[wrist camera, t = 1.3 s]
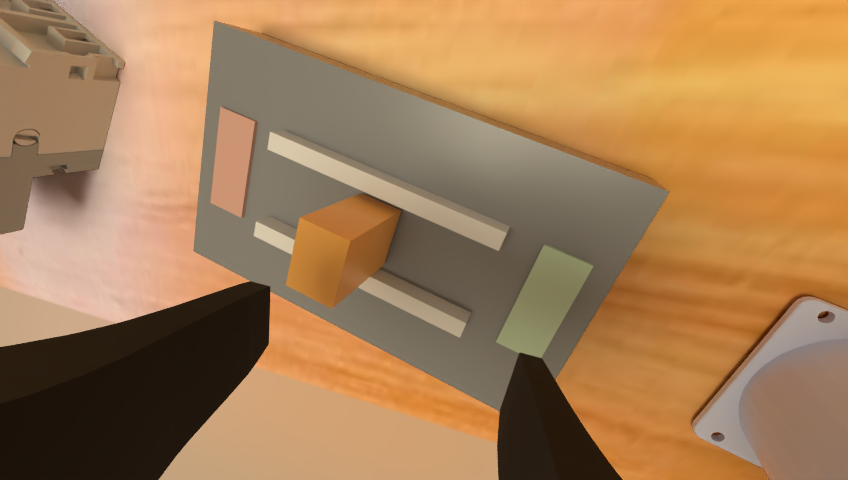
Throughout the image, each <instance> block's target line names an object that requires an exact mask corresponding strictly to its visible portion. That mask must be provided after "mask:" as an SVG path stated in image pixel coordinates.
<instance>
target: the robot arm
mask: <svg viewBox="0 0 848 480" xmlns="http://www.w3.org/2000/svg"><path fill="white" fill-rule="evenodd" d="M824 311H829V314H828V316H826V317H825V318H821V319H819V318H817V317H818V315H819V314H820V313H821V312H824ZM269 315H270V286H267V285H263V284H259V283H256V282H252V281H250V282H246V283H242V284H239V285H236V286H233V287H230V288H227V289H224V290H221V291H218V292H215V293H212V294H209V295H206V296H203V297H200V298H197V299H194V300H191V301H188V302H185V303H182V304H180V305H177V306H174V307H170V308H167V309H164V310H160V311H157V312H154V313H151V314H147V315H144V316H141V317H137V318H134V319H131V320H127V321H124V322H120V323H116V324H112V325H109V326H105V327H100V328H96V329H92V330H88V331H83V332H80V333H75V334H70V335H66V336H60V337H54V338H49V339H44V340H38V341H33V342H27V343H22V344H16V345H11V346H5V347H0V480H158V479H159V478H160V477H161V475H162V474H163V473H164V471H165V470H166V469H167V467H168V466H169V465H170V463H171V462H172V461H173V459H174V458H175V457H176V455H177V454H178V453H179V452H180V451H181V449H182V448H183V447H184V446H185V445H186V443H187V442H188V441H189V440H190V439H191V438H192V437H193V435H194V434H195V433H196V432H197V431H198V430H199V429H200V428H201V426H202V425H203V424H204V423H205V422H206V421H207V420H208V418H210V416H211V415H212V414H213V413H214V412H215V411H216V410H217V409H218V407H219V406H220V405H221V404H222V403H223V402H224V401H225V400H226V399H227V398H228V396H229V395H230V394H231V393H232V392H233V391H234V389H236V387H237V386H238V385H239V384H240V383H241V382H242V380H243V379H244V378H245V377H246V376H247V375H248V374H249V372H250V371H251V369H252V368H253V367H254V365H255V364H256V362H257V361H258V359H259V358H260V356H261V355H262V353H263V352H264V350H265V349H266V347H267V346H268V344H269ZM692 428H693V431H694V433H695V434H696V436H698V437H699V438H701V439H703V440H705V441H707V442H709V443H711V444H713V445H715V446H718V447H720V448H722V449H724V450H726V451H728V452H730V453H732V454H734V455H736V456H738V457H740V458H742V459H744V460H746V461H748V462H750V463H753V464H755V465H757V466H759V467H761V468H763V469H764V470H765V472H766V474H767V476H768V478H769V479H770V480H848V310H846V309H844V308H841V307H839V306H836V305H834V304H831V303H829V302H826V301H824V300H821V299H819V298H816V297H811V296H807V297H802V298H799V299H797V300H796V301H795V302H794V303H793V304H792V305H791V306H790V308H789V309H788V310H787V311H786V312H785V314H784V315H783V316H782V317H781V318H780V319H779V321H778V322H777V323H776V324H775V325H774V327H773V328H772V329H771V330H770V331H769V332H768V334H767V335H766V336H765V337H764V338H763V339H762V341H761V342H760V343H759V344H758V345H757V347H756V348H755V349H754V350H753V351H752V352H751V354H750V355H749V356H748V357H747V358H746V360H745V361H744V362H743V363H742V364H741V365H740V367H739V368H738V369H737V370H736V371H735V372H734V374H733V375H732V376H731V377H730V378H729V380H728V381H727V382H726V383H725V384H724V385H723V387H722V388H721V389H720V390H719V391H718V393H717V394H716V395H715V396H714V397H713V398H712V400H711V401H710V402H709V403H708V404H707V406H706V407H705V408H704V409H703V410H702V411H701V413H700V414H699V415H698V416H697V417H696V418H695V420H694V421H693V423H692ZM715 432H719V433H721V434H719V435H712V434H713V433H715ZM497 450H498V475H499V480H622V478H621V477H620V476H619V475H618V473H617V472H616V471H615V469H614V468H613V467H612V466H611V464H610V463H609V462H608V460H607V459H606V458H605V456H604V455H603V453H602V452H601V451H600V449H599V448H598V446H597V445H596V444H595V442H594V441H593V439H592V438H591V437H590V435H589V434H588V432H587V431H586V429H585V428H584V426H583V425H582V423H581V422H580V420H579V418H578V417H577V415H576V414H575V412H574V411H573V409H572V408H571V406H570V404H569V403H568V401H567V399H566V398H565V396H564V394H563V393H562V391H561V389H560V388H559V386H558V384H557V382H556V381H555V379H554V377H553V376H552V374H551V372H550V370H549V369H548V367H547V365H546V364H545V362H544V360H543V359H542V358H539V357H536V356H532V355H528V354H524V353H520V352H519V355H518V358H517V361H516V364H515V367H514V370H513V373H512V376H511V379H510V382H509V384H508V387H507V390H506V393H505V396H504V399H503V402H502V405H501V408H500V416H499V429H498V444H497Z"/></svg>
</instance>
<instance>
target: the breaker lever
mask: <svg viewBox="0 0 848 480" xmlns="http://www.w3.org/2000/svg"><path fill="white" fill-rule="evenodd" d="M400 213H401V210H399V209H397V208H394V207H392V206H390V205H387V204H385V203H383V202H381V201H378V200H376V199H374V198H372V197H369V196H367V195H365V194H363V193H360V194H358V195H355V196H353V197H350V198H348V199H345V200H342V201H340V202H337V203H335V204H332V205H330V206H327V207H325V208H322V209H320V210H317V211H315V212H312V213H310V214H307V215H304V216H302V217H300V218H299V223H298V228H297V233H296V237H295V242H294V247H293V252H292V257H291V262H290V266H289V271H288V276H287V281H286V286H288V287H290V288H292V289H294V290H296V291H298V292H300V293H302V294H304V295H306V296H308V297H310V298H312V299H313V300H315V301H317V302H319V303H321V304H323V305H325V306H327V307H329V308H331V309H332V308H334V307H335V306H336V305H337V304H338V303H340V302H341V301H342V300H343V299H344V298H345V297H347V296H348V295H349V294H350V293H351V292H353V291H354V290H355V289H356V288H357V287H358V286H360V285H361V284H362V283H363V282H364V281H366V280H367V279H368V278H369V277H370V276H371V275H373V274H374V273H375V272H376V271H377V270H379V269H380V268H381V267H382V266H383V265H384V263H385V260H386V257H387V254H388V251H389V248H390V244H391V241H392V238H393V235H394V232H395V229H396V226H397V223H398V219H399V216H400Z"/></svg>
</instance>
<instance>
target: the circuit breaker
mask: <svg viewBox="0 0 848 480" xmlns="http://www.w3.org/2000/svg"><path fill="white" fill-rule="evenodd" d="M87 41H89V42H87ZM124 65H125V62H124V61H123V60H122V59H121V58H119V57H118V56H117V55H116V54H115V53H114V52H112V51H111V50H110V49H109V48H108V47H107V46H105V45H104V44H103V43H102V42H101V41H100V40H98V39H97V38H96V37H95V36H94V35H93V34H91V33H90V32H89V31H88V30H87V29H86V28H84V27H83V26H82V25H81V24H80V23H78V22H77V21H76V20H75V19H74V18H73V17H71V16H70V15H69V14H68V13H67V12H66V11H64V10H63V9H62V8H61V7H60V6H59V5H57V4H56V3H55V2H54V1H53V0H0V234H5V233H9V232H14V231H19V230H22V229H23V228H24V224H25V218H26V213H27V207H28V201H29V196H30V190H31V184H32V179H33V177H39V176H46V175H53V174H54V173H53V172H52V170H56V169H63V170H64V171H65V172H66V173H70V172H78V171H86V170H95V169H98V168H99V165H100V161H101V157H102V153H103V149H104V145H105V141H106V137H107V133H108V129H109V125H110V121H111V117H112V113H113V109H114V105H115V101H116V97H117V93H118V89H119V85H120V81H119V80H117V79H116V76H117V72H118V68H121V69H124Z"/></svg>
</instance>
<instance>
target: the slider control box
mask: <svg viewBox="0 0 848 480" xmlns="http://www.w3.org/2000/svg"><path fill="white" fill-rule="evenodd" d="M360 193H363V194H365V195H367V196H369V197H372V198H374V199H376V200H378V201H381V202H383V203H385V204H387V205H390V206H392V207H394V208H397V209H399V210H401V213H400V216H399V219H398V223H397V226H396V229H395V232H394V235H393V238H392V241H391V244H390V248H389V251H388V254H387V257H386V260H385V263H384V265H383V266H382V267H381V268H380V269H379V270H377V271H376V272H375V273H374V274H373V275H371V276H370V277H369V278H368V279H367V280H366V281H364V282H363V283H362V284H361V285H360V286H358V287H357V288H356V289H355V290H354V291H353V292H351V293H350V294H349V295H348V296H347V297H345V298H344V299H343V300H342V301H341V302H340V303H338V304H337V305H336V306H335V307H334V308H332V309H331V308H329V307H327V306H325V305H323V304H321V303H319V302H317V301H315V300H313V299H312V298H310V297H308V296H306V295H304V294H302V293H300V292H298V291H296V290H294V289H292V288H290V287H288V286H286V281H287V276H288V271H289V266H290V262H291V257H292V252H293V247H294V242H295V237H296V233H297V228H298V223H299V218H300V217H302V216H304V215H307V214H310V213H312V212H315V211H317V210H320V209H322V208H325V207H327V206H330V205H332V204H335V203H337V202H340V201H342V200H345V199H348V198H350V197H353V196H355V195H358V194H360ZM668 193H669V191H668V190H666V189H665V188H664V187H662V186H661V185H660V184H658V183H657V182H655V181H654V180H653V179H651V178H648V177H646V176H643V175H640V174H638V173H635V172H632V171H630V170H627V169H624V168H622V167H619V166H616V165H613V164H611V163H608V162H605V161H603V160H600V159H597V158H595V157H592V156H589V155H587V154H584V153H581V152H579V151H576V150H573V149H571V148H568V147H565V146H562V145H560V144H557V143H554V142H552V141H549V140H546V139H544V138H541V137H538V136H536V135H533V134H530V133H528V132H525V131H522V130H520V129H517V128H514V127H512V126H509V125H506V124H503V123H501V122H498V121H495V120H493V119H490V118H487V117H485V116H482V115H479V114H477V113H474V112H471V111H469V110H466V109H463V108H461V107H458V106H455V105H453V104H450V103H447V102H444V101H442V100H439V99H436V98H434V97H431V96H428V95H426V94H423V93H420V92H418V91H415V90H412V89H410V88H407V87H404V86H402V85H399V84H396V83H394V82H391V81H388V80H385V79H383V78H380V77H377V76H375V75H372V74H369V73H367V72H364V71H361V70H359V69H356V68H353V67H351V66H348V65H345V64H343V63H340V62H337V61H335V60H332V59H329V58H326V57H324V56H321V55H318V54H316V53H313V52H310V51H308V50H305V49H302V48H300V47H297V46H294V45H292V44H289V43H286V42H284V41H281V40H278V39H275V38H273V37H270V36H267V35H265V34H262V33H259V32H255V31H251V30H247V29H244V28H240V27H236V26H232V25H229V24H225V23H221V22H217V21H214V28H213V39H212V50H211V62H210V73H209V84H208V95H207V106H206V117H205V128H204V139H203V151H202V162H201V173H200V184H199V195H198V206H197V217H196V228H195V240H194V252H196V253H198V254H200V255H202V256H204V257H206V258H208V259H209V260H211V261H213V262H215V263H217V264H219V265H221V266H223V267H225V268H227V269H229V270H230V271H232V272H234V273H236V274H238V275H240V276H242V277H244V278H246V279H248V280H250V281H252V282H256V283H259V284H263V285H267V286H270V291H271V292H273V293H274V294H276V295H278V296H280V297H282V298H284V299H286V300H288V301H290V302H292V303H294V304H295V305H297V306H299V307H301V308H303V309H305V310H307V311H309V312H311V313H313V314H315V315H317V316H318V317H320V318H322V319H324V320H326V321H328V322H330V323H332V324H334V325H336V326H338V327H339V328H341V329H343V330H345V331H347V332H349V333H351V334H353V335H355V336H357V337H359V338H361V339H362V340H364V341H366V342H368V343H370V344H372V345H374V346H376V347H378V348H380V349H382V350H383V351H385V352H387V353H389V354H391V355H393V356H395V357H397V358H399V359H401V360H403V361H404V362H406V363H408V364H410V365H412V366H414V367H416V368H418V369H420V370H422V371H424V372H426V373H427V374H429V375H431V376H433V377H435V378H437V379H439V380H441V381H443V382H445V383H447V384H448V385H450V386H452V387H454V388H456V389H458V390H460V391H462V392H464V393H466V394H468V395H470V396H471V397H473V398H475V399H477V400H479V401H481V402H483V403H485V404H487V405H489V406H491V407H492V408H494V409H496V410H498V411H500V408H501V405H502V402H503V399H504V396H505V393H506V390H507V387H508V384H509V382H510V379H511V376H512V373H513V370H514V367H515V364H516V361H517V358H518V355H519V352H520V353H524V354H528V355H532V356H536V357H539V358H542V359H543V360H544V362H545V364H546V365H547V367H548V369H549V370H550V372H551V374H552V376H553V377H554V379H556V378H557V376H558V374H559V373H560V371H561V369H562V368H563V366H564V365H565V363H566V361H567V360H568V358H569V356H570V355H571V353H572V351H573V350H574V348H575V346H576V345H577V343H578V341H579V340H580V338H581V337H582V335H583V333H584V332H585V330H586V328H587V327H588V325H589V323H590V322H591V320H592V318H593V317H594V315H595V314H596V312H597V310H598V309H599V307H600V305H601V304H602V302H603V300H604V299H605V297H606V295H607V294H608V292H609V290H610V289H611V287H612V286H613V284H614V282H615V281H616V279H617V277H618V276H619V274H620V272H621V271H622V269H623V267H624V266H625V264H626V263H627V261H628V259H629V258H630V256H631V254H632V253H633V251H634V249H635V248H636V246H637V244H638V243H639V241H640V239H641V238H642V236H643V235H644V233H645V231H646V230H647V228H648V226H649V225H650V223H651V221H652V220H653V218H654V216H655V215H656V213H657V212H658V210H659V208H660V207H661V205H662V203H663V202H664V200H665V198H666V197H667V195H668Z"/></svg>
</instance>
